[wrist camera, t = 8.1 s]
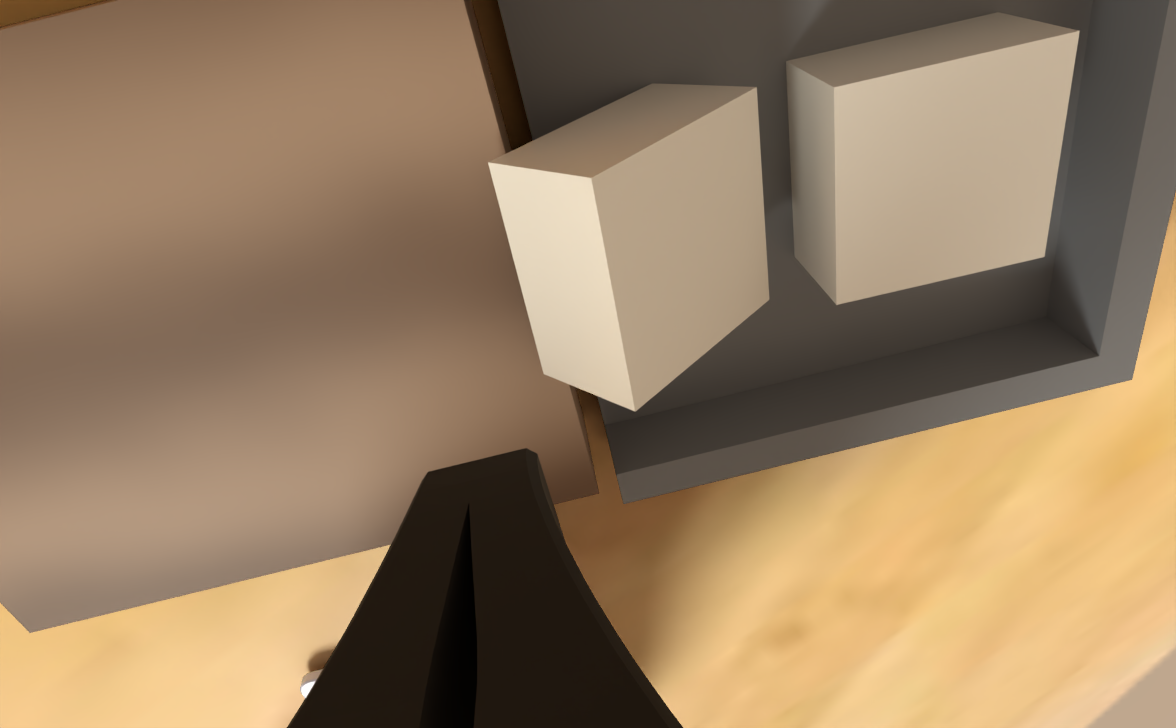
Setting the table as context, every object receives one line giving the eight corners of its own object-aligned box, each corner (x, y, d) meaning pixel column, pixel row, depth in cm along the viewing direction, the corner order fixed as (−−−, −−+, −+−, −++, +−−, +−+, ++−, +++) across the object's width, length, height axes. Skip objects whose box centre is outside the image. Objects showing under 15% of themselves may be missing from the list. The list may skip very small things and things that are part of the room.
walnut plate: (583, 419, 20) (598, 493, 18) (85, 541, 20) (29, 632, 18) (448, -86, 14) (440, -82, 11) (-281, 99, 14) (-449, 143, 11)
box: (1066, 330, 21) (1131, 379, 19) (608, 442, 21) (623, 504, 19) (1176, -340, 13) (1308, -384, 11) (458, -158, 13) (453, -167, 11)
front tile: (678, 277, 18) (769, 299, 16) (543, 374, 15) (635, 411, 14) (652, 83, 15) (756, 86, 14) (487, 162, 13) (590, 177, 11)
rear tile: (836, 304, 16) (794, 256, 18) (1044, 257, 16) (978, 214, 18) (834, 87, 13) (786, 61, 16) (1080, 30, 13) (998, 12, 16)
